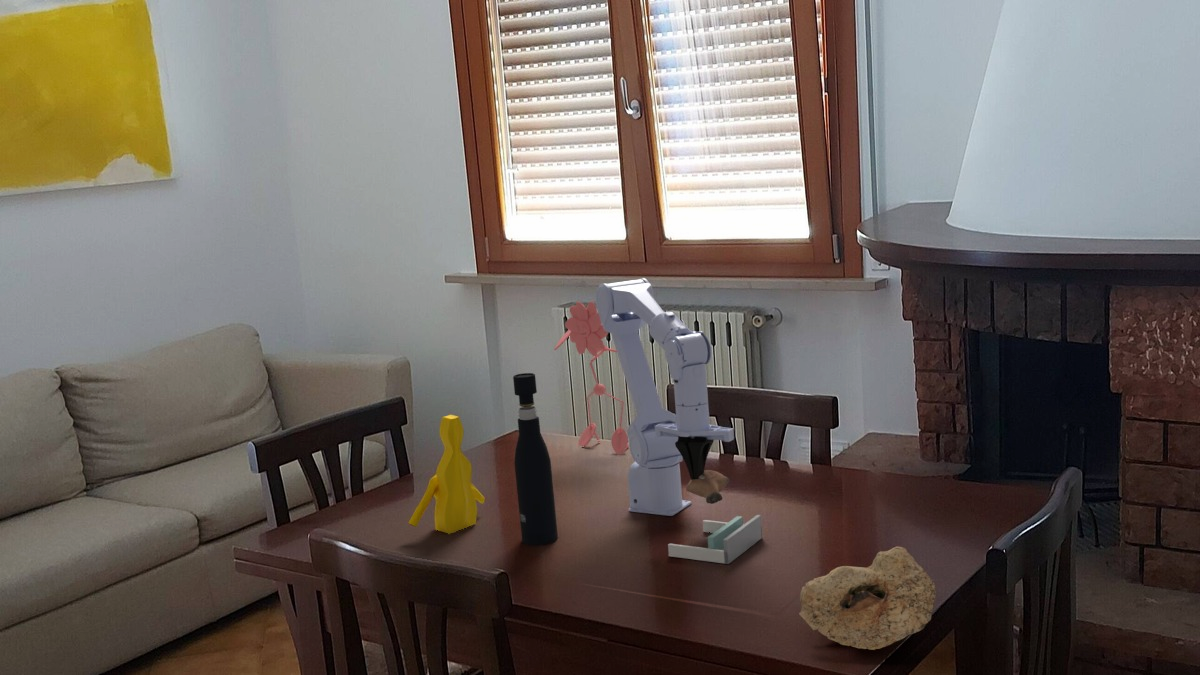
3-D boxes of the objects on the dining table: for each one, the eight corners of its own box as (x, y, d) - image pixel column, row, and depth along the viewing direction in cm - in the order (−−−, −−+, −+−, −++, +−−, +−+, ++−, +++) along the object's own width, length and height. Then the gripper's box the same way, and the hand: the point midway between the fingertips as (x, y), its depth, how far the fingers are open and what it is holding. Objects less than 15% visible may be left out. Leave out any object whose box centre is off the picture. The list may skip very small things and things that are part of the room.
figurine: (579, 441, 275) (566, 294, 269) (659, 456, 256) (647, 298, 250) (530, 457, 264) (515, 305, 259) (609, 473, 246) (595, 309, 240)
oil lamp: (678, 508, 203) (720, 513, 198) (674, 488, 201) (715, 492, 197) (700, 481, 209) (740, 485, 205) (696, 462, 208) (736, 465, 204)
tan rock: (854, 697, 153) (843, 657, 149) (795, 632, 165) (784, 594, 161) (965, 630, 157) (957, 589, 153) (899, 571, 169) (891, 532, 165)
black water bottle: (563, 534, 209) (547, 371, 204) (550, 546, 203) (534, 378, 198) (530, 533, 211) (514, 371, 207) (516, 545, 205) (499, 379, 201)
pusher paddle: (709, 557, 191) (707, 537, 190) (738, 535, 200) (737, 516, 199) (714, 558, 190) (713, 537, 190) (743, 536, 199) (742, 516, 199)
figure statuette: (479, 513, 226) (467, 402, 223) (505, 519, 221) (493, 406, 217) (404, 539, 214) (390, 423, 210) (429, 547, 208) (416, 428, 205)
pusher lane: (668, 556, 194) (667, 533, 193) (705, 530, 205) (703, 508, 204) (728, 564, 188) (726, 540, 187) (762, 537, 199) (761, 515, 198)
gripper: (643, 405, 202) (650, 481, 205) (718, 410, 195) (724, 488, 197) (663, 396, 208) (669, 470, 210) (737, 400, 200) (742, 476, 203)
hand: (697, 478), depth 204 cm, fingers closed, pressing on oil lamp
